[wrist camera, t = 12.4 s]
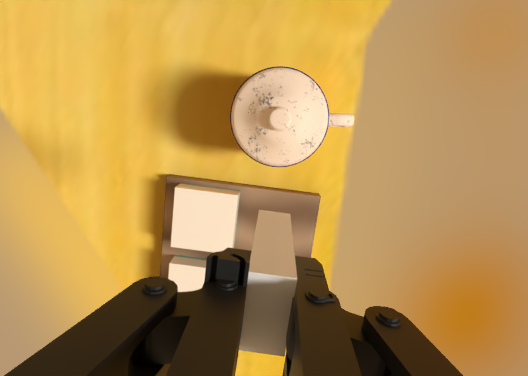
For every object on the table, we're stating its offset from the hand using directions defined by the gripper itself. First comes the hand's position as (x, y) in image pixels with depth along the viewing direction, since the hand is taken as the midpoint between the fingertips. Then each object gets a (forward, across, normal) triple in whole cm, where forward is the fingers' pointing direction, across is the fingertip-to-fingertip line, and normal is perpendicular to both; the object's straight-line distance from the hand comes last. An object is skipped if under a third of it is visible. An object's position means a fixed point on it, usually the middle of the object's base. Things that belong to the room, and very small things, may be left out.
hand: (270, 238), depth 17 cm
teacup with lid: (+26, +1, +5) cm, 27 cm away
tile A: (+23, -4, -7) cm, 24 cm away
